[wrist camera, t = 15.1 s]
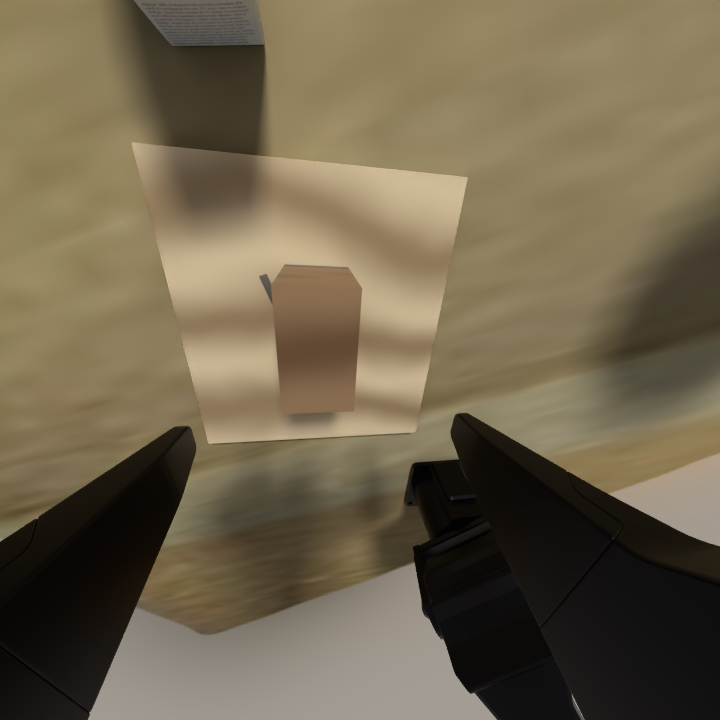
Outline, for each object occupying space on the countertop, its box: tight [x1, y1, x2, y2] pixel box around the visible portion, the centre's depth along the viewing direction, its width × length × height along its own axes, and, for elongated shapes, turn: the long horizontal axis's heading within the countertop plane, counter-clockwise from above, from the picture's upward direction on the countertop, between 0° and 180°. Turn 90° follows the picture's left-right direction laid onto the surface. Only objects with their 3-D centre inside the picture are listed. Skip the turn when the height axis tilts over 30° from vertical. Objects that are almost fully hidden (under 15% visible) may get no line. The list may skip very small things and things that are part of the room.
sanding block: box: [271, 264, 362, 414], centre depth 16 cm, size 7×4×6 cm, turn 176°
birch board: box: [131, 142, 468, 444], centre depth 20 cm, size 20×18×1 cm
